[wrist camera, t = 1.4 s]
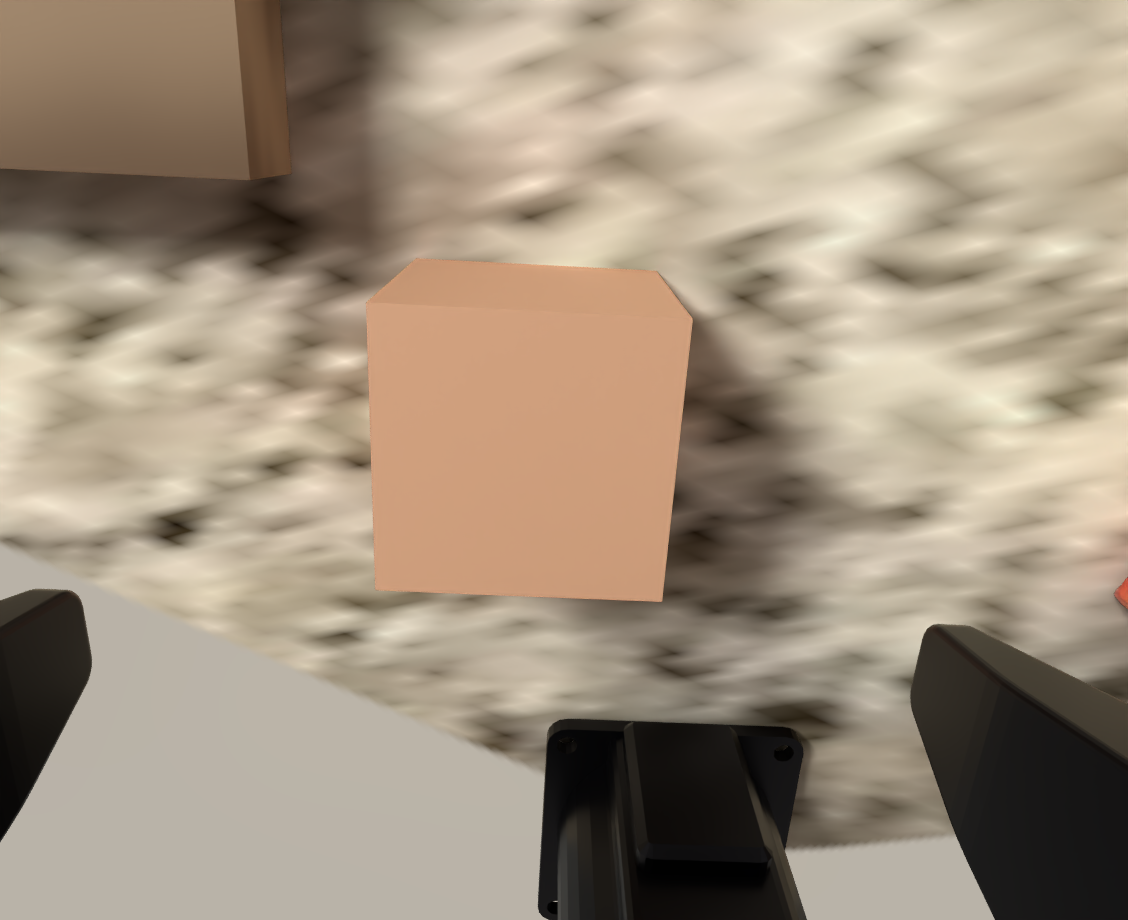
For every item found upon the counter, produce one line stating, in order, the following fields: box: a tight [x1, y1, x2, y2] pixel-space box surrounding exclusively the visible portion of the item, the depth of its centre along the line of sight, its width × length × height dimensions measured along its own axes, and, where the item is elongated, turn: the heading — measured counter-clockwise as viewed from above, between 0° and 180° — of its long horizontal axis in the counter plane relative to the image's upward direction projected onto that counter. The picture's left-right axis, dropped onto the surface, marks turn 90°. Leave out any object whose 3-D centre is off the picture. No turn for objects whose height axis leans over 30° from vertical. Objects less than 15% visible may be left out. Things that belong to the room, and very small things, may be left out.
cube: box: [366, 258, 693, 602], centre depth 16 cm, size 5×5×5 cm
